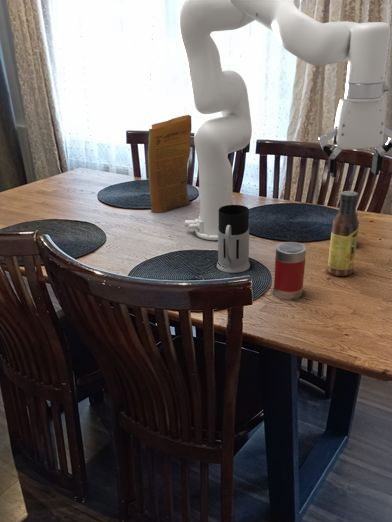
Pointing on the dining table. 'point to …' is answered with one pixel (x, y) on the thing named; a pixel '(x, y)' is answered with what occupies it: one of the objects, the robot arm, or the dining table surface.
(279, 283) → the can
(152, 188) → the pancake mix bag
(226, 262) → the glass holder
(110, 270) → the dining table surface
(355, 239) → the sauce bottle
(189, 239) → the dining table surface
